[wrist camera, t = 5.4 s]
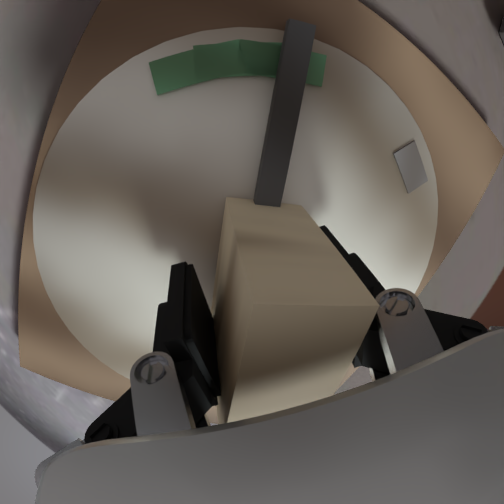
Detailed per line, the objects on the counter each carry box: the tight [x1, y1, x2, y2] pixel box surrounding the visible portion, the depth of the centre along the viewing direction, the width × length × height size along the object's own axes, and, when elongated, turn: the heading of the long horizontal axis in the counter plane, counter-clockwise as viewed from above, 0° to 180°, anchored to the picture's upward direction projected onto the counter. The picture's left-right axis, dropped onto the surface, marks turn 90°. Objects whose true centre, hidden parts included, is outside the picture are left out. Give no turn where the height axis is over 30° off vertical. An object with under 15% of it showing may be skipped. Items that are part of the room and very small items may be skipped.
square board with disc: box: [18, 0, 504, 424], centre depth 13 cm, size 23×19×2 cm
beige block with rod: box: [211, 19, 380, 425], centre depth 9 cm, size 12×3×6 cm, turn 170°
